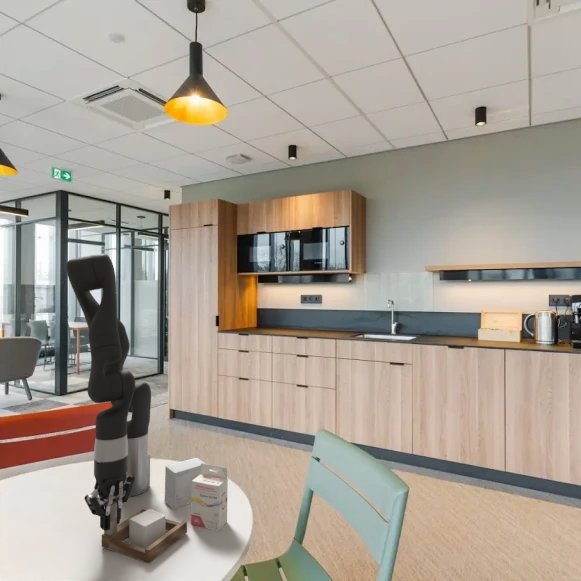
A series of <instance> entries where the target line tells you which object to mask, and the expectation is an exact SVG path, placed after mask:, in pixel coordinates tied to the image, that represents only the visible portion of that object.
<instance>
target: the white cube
mask: <svg viewBox="0 0 581 581" xmlns="http://www.w3.org/2000/svg"><path fill="white" fill-rule="evenodd" d="M146 510H147V511H145V512H143V513H141V514H139V515H137V516H134V517H132V518H130V517H129V518H130V524H129V536H128V537H129V542H128V543H129V544H132V545H136V546H139V547H142V548H145V549H146V548H147V547H149V546H150V545H151V544H153V543H154V542H155V541H157V540H158V539H159V538H161V537H162V536H163V535H165V534H166V530H165V519H166V518H167V517H166V515H165V514H163V513H161V512H158V511H156V510H153V509H151V508H148V509H146Z"/></svg>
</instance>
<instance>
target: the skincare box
mask: <svg viewBox="0 0 581 581" xmlns="http://www.w3.org/2000/svg"><path fill="white" fill-rule="evenodd" d="M202 463H203V464H207V463H206V462H205V461H203V460H201V459H200V458H198V457H193V458H190V459H186V460H182V461H179V462H175V463H172V464H168V465H166V466H165V469H164V471H165V472H164V473H165V476H164V478H165V479H164V480H165V482H164V502H165V503H166V504H167V505H168V506H170V507H171V508H172V509H175V510H176V509H178V508H181V507H184V506H186V505H191V491H192V480H194V479H195V478H196V477H198V476H199V475H200V474H201V464H202Z"/></svg>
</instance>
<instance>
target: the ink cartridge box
mask: <svg viewBox="0 0 581 581" xmlns="http://www.w3.org/2000/svg"><path fill="white" fill-rule="evenodd" d="M213 469H214V470H215V471H213ZM228 481H229V480H228V469H227V467H226V466H221V465H213V464H209V463H206V464H203V463H202V464H201V474H200V475H199V476H198V477H196V478H195V479H194V480H192V491H191V503H190V525H191V526H195V527H198V528H205V529H209V530H212V531H216V530H218V531H217V532H220V530H221V529H222V528H223V527H224V526H225V525H226V524H227V523H228V486H229V485H228V484H229V483H228ZM224 524H225V525H224ZM223 525H224V526H223Z"/></svg>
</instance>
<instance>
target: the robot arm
mask: <svg viewBox="0 0 581 581" xmlns="http://www.w3.org/2000/svg"><path fill="white" fill-rule="evenodd" d="M65 266H66V274H67V277H68V278H67V279H68V281H69V283H70V286H71V289H72V290H73V293H74V295H75V297H76V300H77V301H78V304H79V307H80V309H81V311H82V314H83V316H84V318H85V322H86V324H87V325H86V326H87V328H88V342H89V348H90V349H89V350H90V357H91V359H90V360H91V361H90V362H91V363H90V371H89V378H88V383H87V395H88V397H89V399H90V400H91V401H92V402H94V403H96V404H103V403H108V402H110V404H111V406H110V408H107V409H104V410H102V411H100V412H99V413H97V415H96V417H95V440H94V449H93V453H94V454H93V458H94V459H93V477H94V478H95V484H94V488H93V491H92V492H91V493H90V494H86V495H85V496H84V502H85V503H86V505H87V507H88V509H89V510H90V512H91V515H94V516H96V517H97V516H98V517H99V527H100V529H102V531H104V530H105V531H108V530H109V529H110V507H111V504H112V502H113V501H115V502H117V525H118V524H120V523H121V519H122V507H123V506H124V503H127V502H128V501H129V499H130V497H133V496H138V495H140V494H143V493H144V492H146V491H147V490H148V487H149V486H150V485H151V456H150V454H149V425H150V422H151V405H152V391H151V390H152V389H151V387H150V385H149V383H147V382H142V381H136V379H135V376H134V375H133V373H132V372H131V371H130V370H124V365H125V362H126V360H127V358H128V354H129V352H130V349H131V348H130V346H131V345H130V343H131V342H130V341H129V340H130V339H129V336H128V333H127V330H126V327H125V325H124V324H123V322H122V321H121V320H120V319H119V318H118V306H117V300H118V298H117V281H116V278H117V277H116V272H115V267H114V264H113V260H112V259H111V257H110V256H109V255H108V254H107V253H98V254H97V253H96V254H91V255H87V256H80V257H74V258H72V259H71V258H70V259H69V260H68V261H67V262H66V264H65ZM100 289H102V297H101V301H100V303H98V301H97V300H96V299H95V297H94V296H93V295H92V293H91V292H92V291H95V290H100ZM129 413H131V417H130V418H131V419H130V420H128V416H129ZM104 505H105V509H104Z"/></svg>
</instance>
